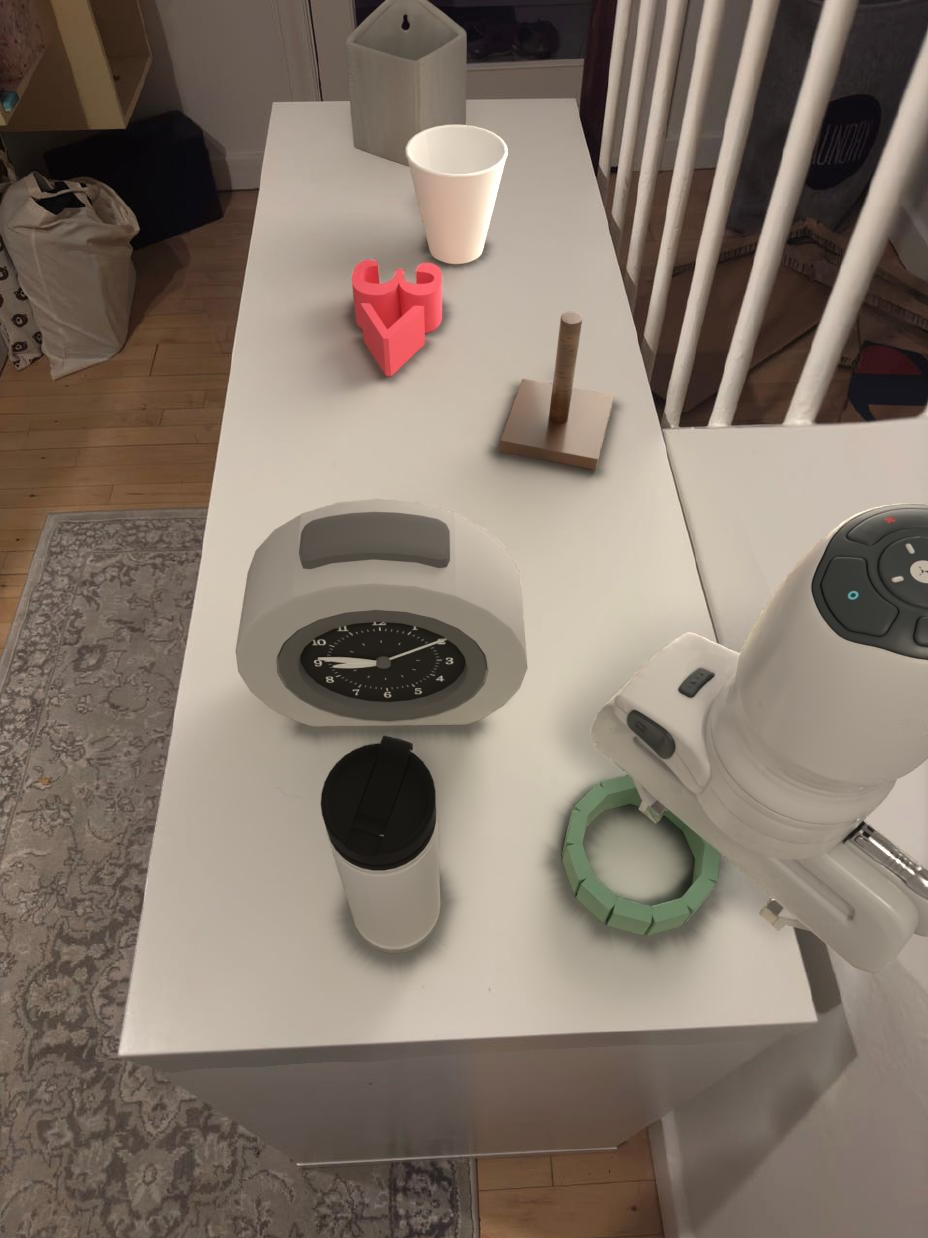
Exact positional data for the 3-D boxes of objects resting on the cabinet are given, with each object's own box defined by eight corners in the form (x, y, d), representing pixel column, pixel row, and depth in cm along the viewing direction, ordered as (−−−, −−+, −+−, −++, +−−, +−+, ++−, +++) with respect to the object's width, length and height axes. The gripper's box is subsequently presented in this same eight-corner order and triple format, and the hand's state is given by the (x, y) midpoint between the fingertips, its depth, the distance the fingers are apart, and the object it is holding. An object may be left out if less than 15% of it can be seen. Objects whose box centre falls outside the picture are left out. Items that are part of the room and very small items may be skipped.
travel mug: (452, 875, 64) (453, 751, 47) (424, 966, 60) (414, 864, 44) (372, 851, 65) (345, 721, 48) (340, 939, 61) (299, 830, 45)
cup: (451, 287, 105) (451, 186, 95) (390, 245, 111) (384, 145, 100) (522, 251, 110) (529, 151, 100) (460, 212, 115) (461, 113, 105)
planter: (360, 173, 121) (346, 13, 105) (353, 145, 125) (339, -13, 109) (475, 163, 123) (479, 4, 107) (464, 135, 127) (466, -21, 111)
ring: (716, 811, 67) (726, 795, 64) (701, 952, 61) (712, 940, 58) (578, 776, 68) (582, 759, 66) (550, 910, 62) (554, 897, 60)
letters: (432, 379, 96) (431, 340, 92) (341, 373, 96) (336, 335, 92) (444, 301, 104) (444, 263, 100) (359, 296, 104) (356, 258, 100)
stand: (612, 406, 93) (633, 295, 82) (595, 470, 88) (616, 360, 77) (521, 389, 95) (530, 277, 84) (499, 451, 89) (506, 340, 78)
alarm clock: (258, 727, 71) (200, 576, 54) (268, 650, 75) (217, 489, 59) (520, 723, 71) (540, 573, 55) (515, 647, 75) (532, 486, 59)
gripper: (1004, 866, 41) (882, 945, 53) (664, 613, 50) (622, 728, 61) (940, 963, 39) (827, 1024, 50) (592, 678, 47) (561, 786, 58)
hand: (712, 860), depth 56 cm, fingers open, 8 cm apart
